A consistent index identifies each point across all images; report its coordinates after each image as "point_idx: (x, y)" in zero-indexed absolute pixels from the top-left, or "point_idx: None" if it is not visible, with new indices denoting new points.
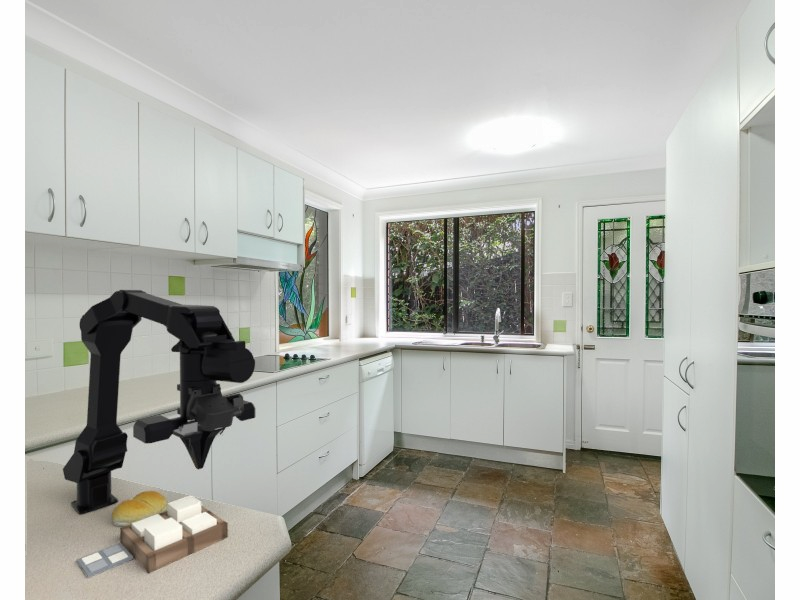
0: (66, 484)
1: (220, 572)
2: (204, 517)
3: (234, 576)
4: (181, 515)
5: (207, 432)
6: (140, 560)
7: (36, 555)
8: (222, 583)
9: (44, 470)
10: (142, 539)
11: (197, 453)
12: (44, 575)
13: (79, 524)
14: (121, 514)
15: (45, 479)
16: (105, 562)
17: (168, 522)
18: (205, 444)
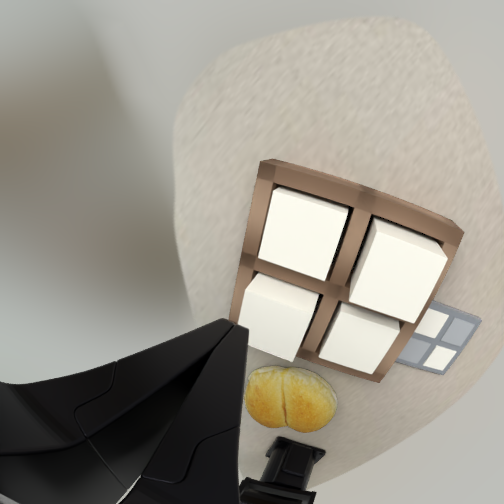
0: None
1: (382, 63)
2: (282, 234)
3: (374, 27)
4: (305, 300)
5: (20, 478)
6: None
7: (429, 422)
8: (403, 35)
9: None
10: None
11: (216, 406)
12: (474, 377)
13: (347, 438)
14: (330, 412)
15: None
16: (449, 327)
17: (375, 286)
18: (114, 413)
